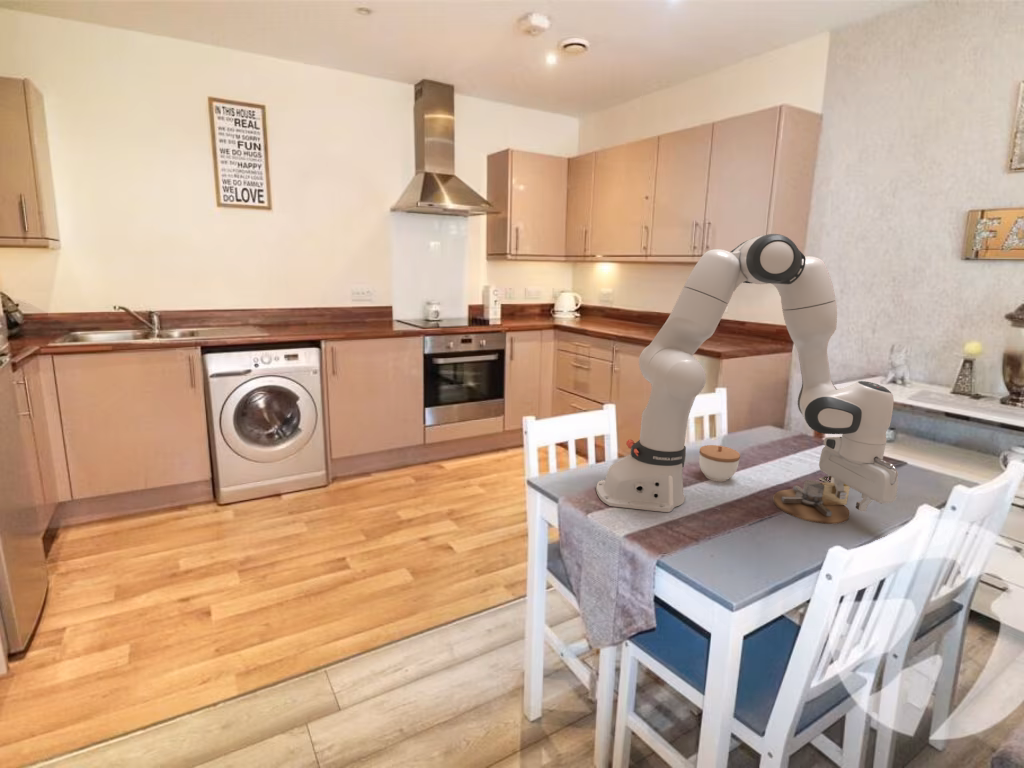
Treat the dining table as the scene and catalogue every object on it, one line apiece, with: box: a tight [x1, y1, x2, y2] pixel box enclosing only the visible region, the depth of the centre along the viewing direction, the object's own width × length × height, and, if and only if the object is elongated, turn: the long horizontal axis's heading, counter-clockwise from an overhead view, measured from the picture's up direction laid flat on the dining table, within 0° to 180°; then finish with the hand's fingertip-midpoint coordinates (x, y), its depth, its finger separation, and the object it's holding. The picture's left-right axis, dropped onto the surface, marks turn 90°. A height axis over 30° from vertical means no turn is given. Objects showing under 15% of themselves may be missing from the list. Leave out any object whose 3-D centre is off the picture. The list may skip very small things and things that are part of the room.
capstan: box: [781, 479, 851, 516], centre depth 138 cm, size 15×16×7 cm
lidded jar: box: [698, 444, 741, 483], centre depth 154 cm, size 11×11×9 cm
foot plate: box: [772, 488, 850, 525], centre depth 139 cm, size 17×17×1 cm
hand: (850, 503), depth 133 cm, fingers open, 5 cm apart
